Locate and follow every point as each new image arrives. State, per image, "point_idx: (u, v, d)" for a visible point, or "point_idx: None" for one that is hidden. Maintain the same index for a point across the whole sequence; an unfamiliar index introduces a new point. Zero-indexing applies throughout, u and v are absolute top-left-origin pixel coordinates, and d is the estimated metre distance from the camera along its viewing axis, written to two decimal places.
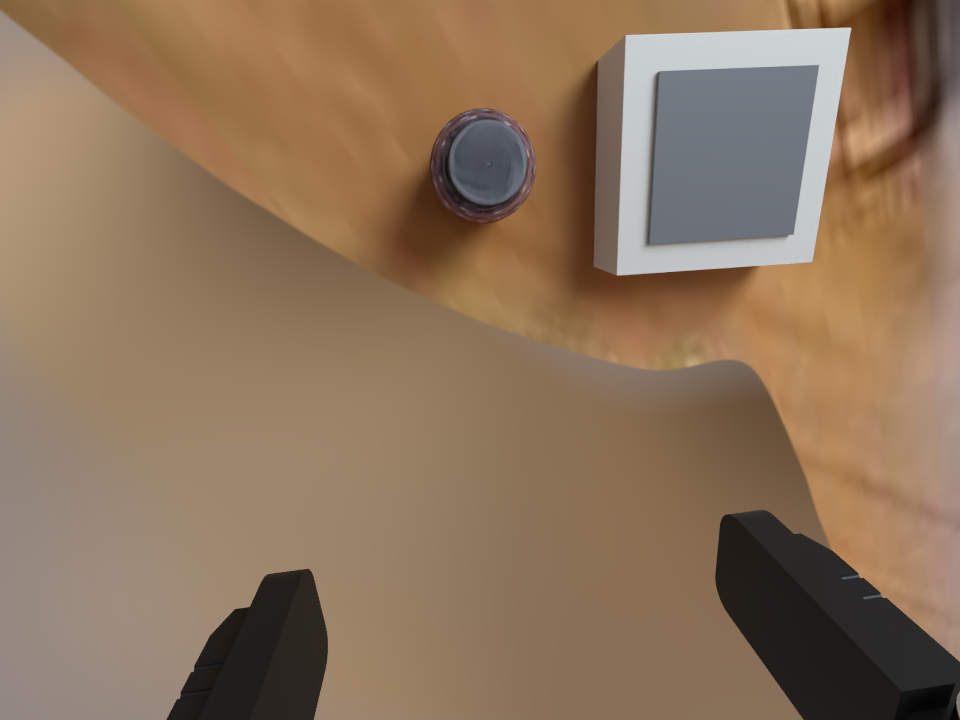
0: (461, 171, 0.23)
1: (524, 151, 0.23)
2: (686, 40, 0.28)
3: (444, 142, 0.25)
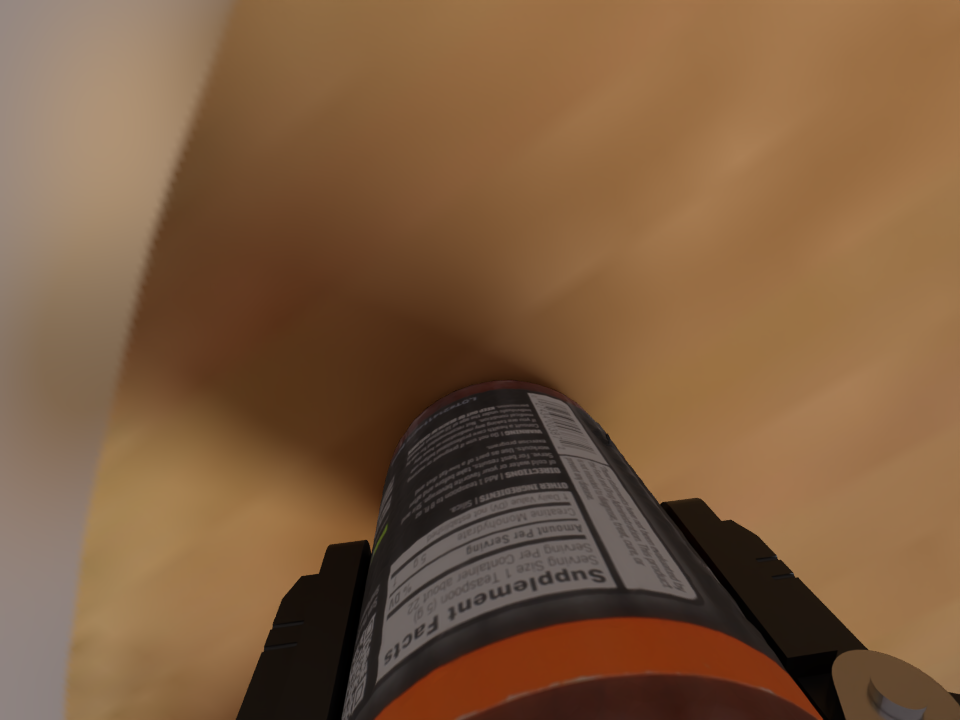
0: None
1: None
2: None
3: None
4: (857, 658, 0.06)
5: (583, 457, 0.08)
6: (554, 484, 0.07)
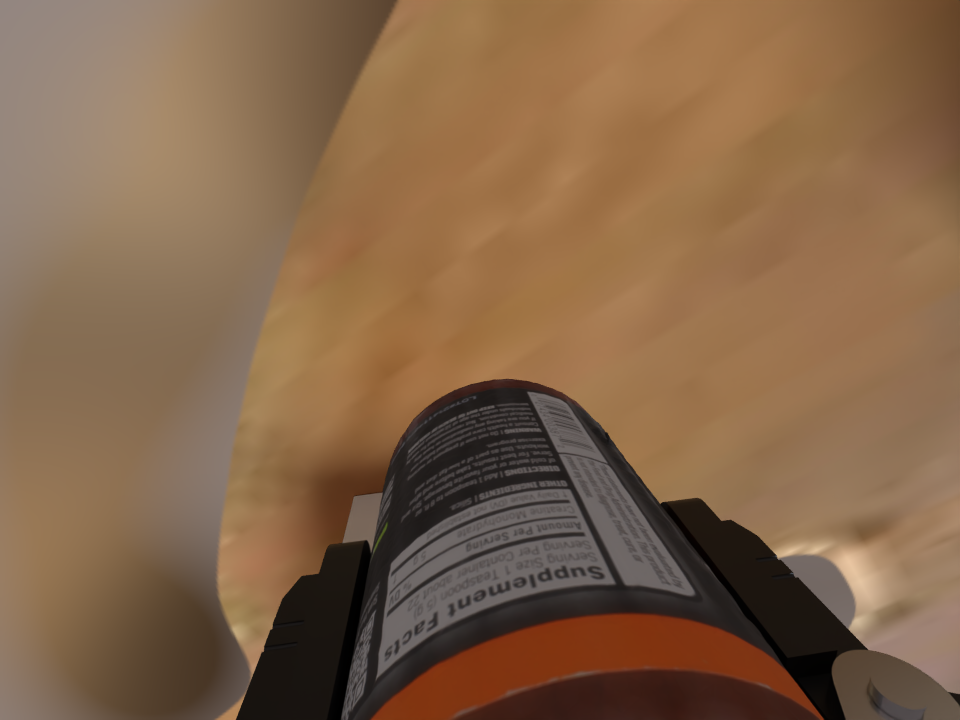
0: None
1: None
2: None
3: None
4: (857, 658, 0.06)
5: (582, 455, 0.08)
6: (554, 482, 0.07)
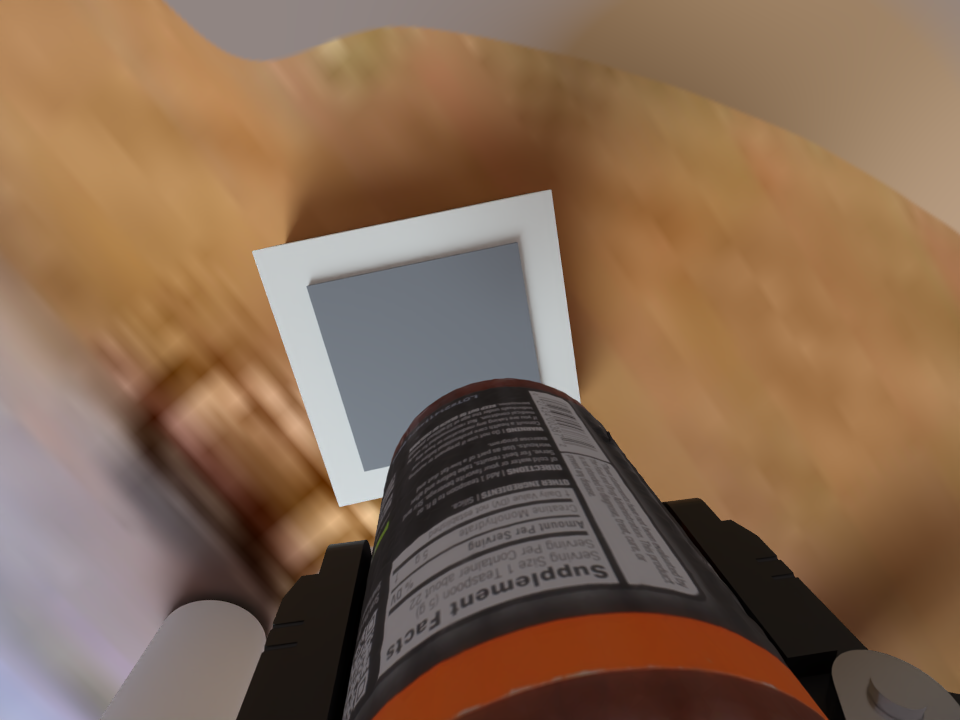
0: None
1: None
2: None
3: None
4: (857, 658, 0.06)
5: (584, 454, 0.08)
6: (556, 481, 0.07)
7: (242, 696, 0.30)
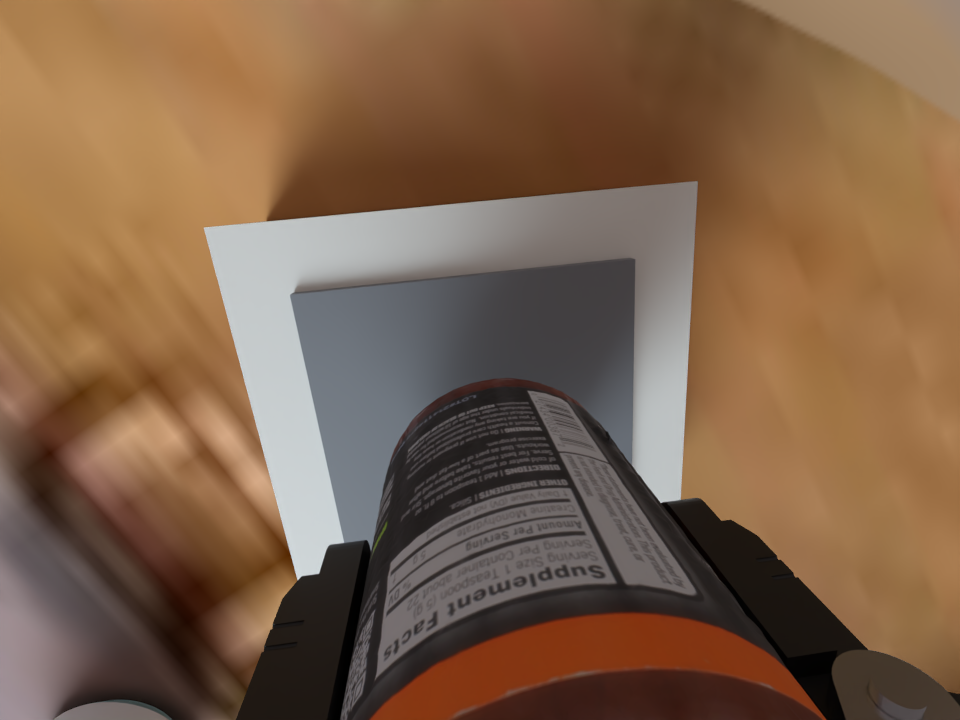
0: None
1: None
2: None
3: None
4: (857, 658, 0.06)
5: (583, 454, 0.08)
6: (554, 481, 0.07)
7: None
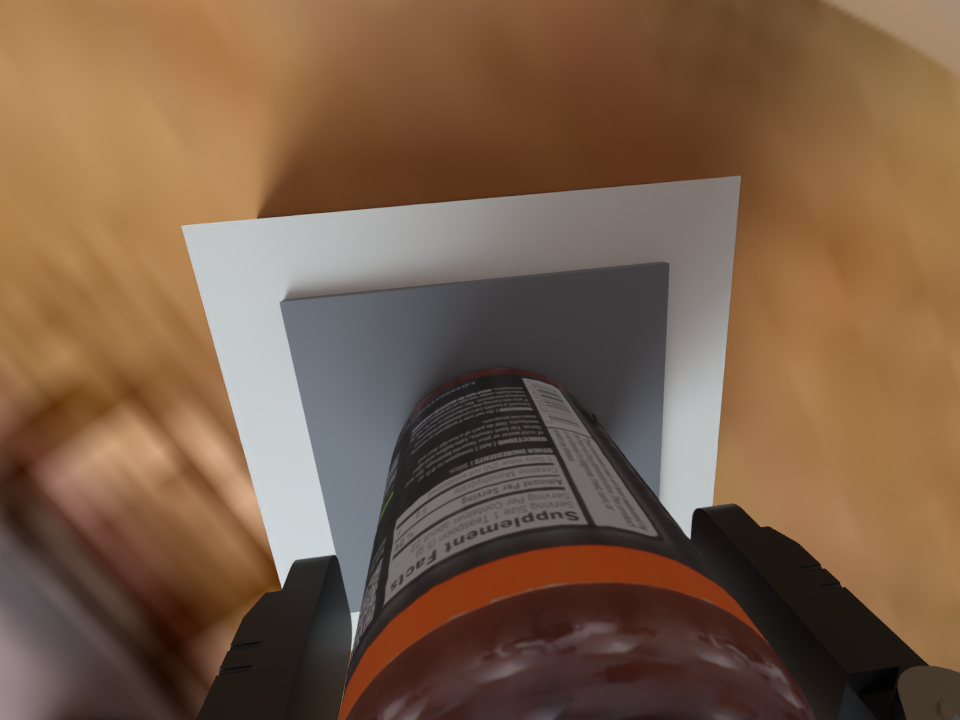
0: None
1: None
2: None
3: None
4: (922, 675, 0.06)
5: (569, 430, 0.09)
6: (541, 450, 0.08)
7: None
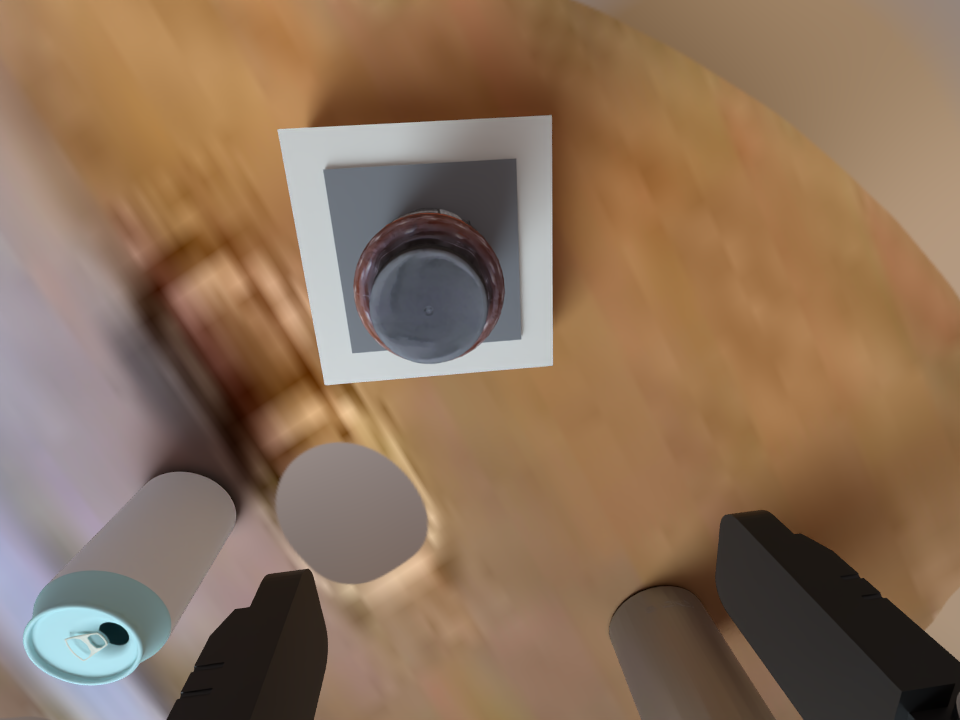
0: (415, 269, 0.15)
1: (447, 359, 0.16)
2: (493, 365, 0.29)
3: (460, 237, 0.17)
4: None
5: (449, 213, 0.22)
6: (433, 210, 0.21)
7: (211, 556, 0.32)
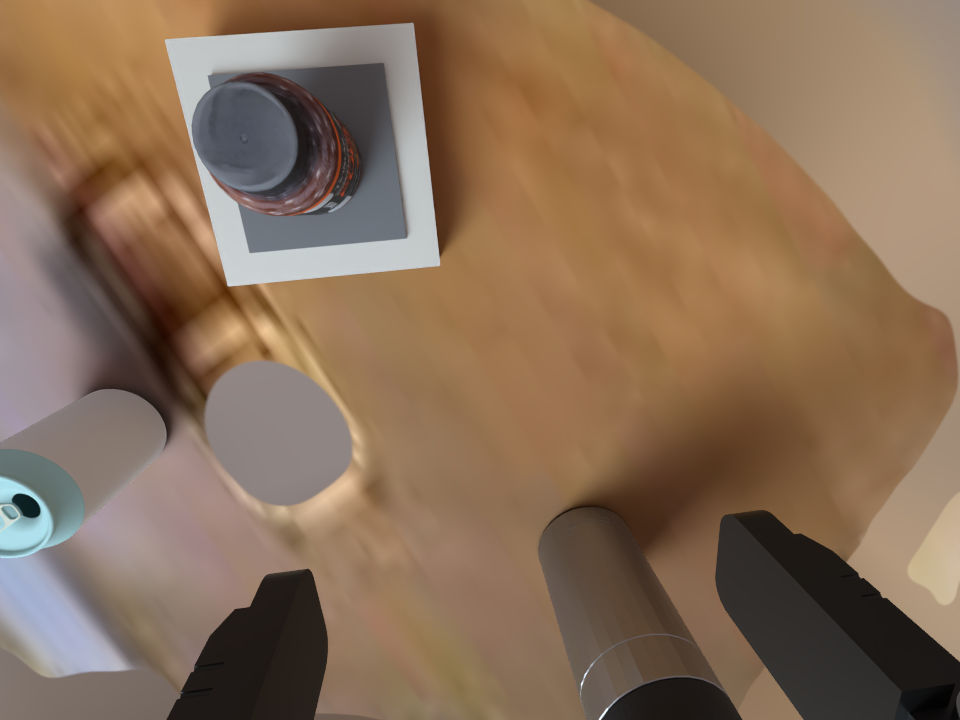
0: (227, 99, 0.18)
1: (267, 186, 0.19)
2: (384, 265, 0.32)
3: (284, 89, 0.20)
4: None
5: None
6: None
7: (135, 460, 0.34)
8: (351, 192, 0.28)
